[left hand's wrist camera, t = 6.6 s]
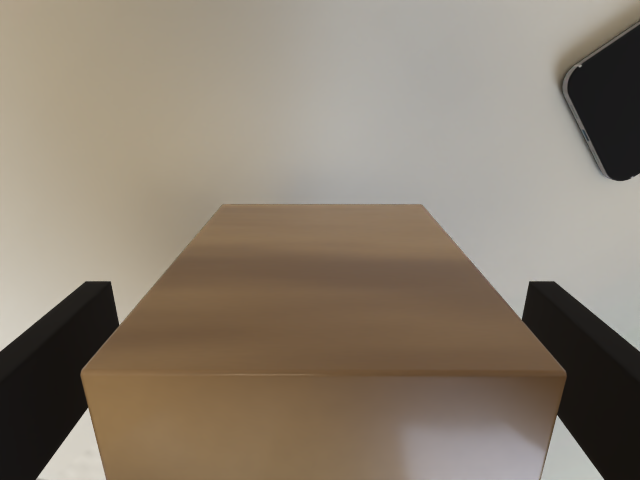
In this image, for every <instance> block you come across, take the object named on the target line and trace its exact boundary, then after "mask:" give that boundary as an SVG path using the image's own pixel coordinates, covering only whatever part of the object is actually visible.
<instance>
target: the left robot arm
mask: <svg viewBox="0 0 640 480" xmlns="http://www.w3.org/2000/svg"><path fill="white" fill-rule="evenodd" d="M522 321H523V322H524V323H525V325H526V326H527V327H528V328H529V329H530V330H531V331H532V333H533V334H534V335H535V336H536V337H537V338H538V340H539V341H540V342H541V343H542V344H543V345H544V347H545V348H546V349H547V350H548V351H549V352H550V353H551V355H552V356H553V357H554V358H555V359H556V360H557V362H558V363H559V364H560V365H561V366H562V367H563V369H564V370H565V371H566V375H567V378H566V381H565V385H564V389H563V393H562V397H561V401H560V405H559V409H558V413H557V415H558V417H559V418H560V419H561V421H562V422H563V423H564V425H565V426H566V428H567V429H568V430H569V432H570V433H571V434H572V436H573V437H574V439H575V440H576V441H577V443H578V444H579V445H580V447H581V448H582V450H583V451H584V452H585V454H586V455H587V456H588V458H589V459H590V461H591V462H592V463H593V465H594V466H595V467H596V469H597V470H598V472H599V473H600V474H601V476H602V477H603V478H604V480H640V352H639V351H638V350H637V349H636V348H635V347H633V346H632V345H631V344H630V343H628V342H627V341H626V340H625V339H624V338H622V337H621V336H620V335H619V334H618V333H616V332H615V331H614V330H613V329H611V328H610V327H609V326H608V325H607V324H605V323H604V322H603V321H602V320H601V319H599V318H598V317H597V316H596V315H594V314H593V313H592V312H591V311H590V310H588V309H587V308H586V307H585V306H583V305H582V304H581V303H580V302H579V301H577V300H576V299H575V298H574V297H573V296H571V295H570V294H569V293H568V292H566V291H565V290H564V289H563V288H562V287H560V286H559V285H558V284H557V283H555V282H554V281H529V286H528V291H527V296H526V301H525V306H524V311H523V316H522ZM118 327H119V321H118V316H117V311H116V306H115V301H114V296H113V291H112V286H111V281H86V282H85V283H83V284H82V285H81V286H80V287H78V288H77V289H76V290H75V291H74V292H72V293H71V294H70V295H69V296H67V297H66V298H65V299H64V300H63V301H61V302H60V303H59V304H58V305H57V306H55V307H54V308H53V309H52V310H50V311H49V312H48V313H47V314H46V315H44V316H43V317H42V318H41V319H40V320H38V321H37V322H36V323H35V324H33V325H32V326H31V327H30V328H29V329H27V330H26V331H25V332H24V333H22V334H21V335H20V336H19V337H18V338H16V339H15V340H14V341H13V342H12V343H10V344H9V345H8V346H7V347H5V348H4V349H3V350H2V351H1V352H0V480H36V478H37V477H38V476H39V474H40V473H41V472H42V470H43V469H44V467H45V466H46V465H47V463H48V462H49V461H50V459H51V458H52V456H53V455H54V454H55V452H56V451H57V450H58V448H59V447H60V445H61V444H62V443H63V441H64V440H65V439H66V437H67V436H68V434H69V433H70V432H71V430H72V429H73V428H74V426H75V425H76V423H77V422H78V421H79V419H80V418H81V417H82V415H83V414H84V412H85V411H86V410H87V408H88V404H87V400H86V396H85V392H84V388H83V384H82V380H81V376H80V375H81V370H82V369H83V368H84V367H85V365H86V364H87V363H88V362H89V361H90V359H91V358H92V357H93V356H94V355H95V354H96V352H97V351H98V350H99V349H100V348H101V347H102V345H103V344H104V343H105V342H106V341H107V340H108V338H109V337H110V336H111V335H112V334H113V332H114V331H115V330H116V329H117V328H118Z"/></svg>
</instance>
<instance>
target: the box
mask: <svg viewBox="0 0 640 480" xmlns="http://www.w3.org/2000/svg"><path fill="white" fill-rule="evenodd" d="M80 376H81V380H82V384H83V388H84V392H85V396H86V400H87V404H88V408H89V412H90V416H91V420H92V424H93V428H94V432H95V436H96V440H97V444H98V448H99V452H100V456H101V460H102V464H103V468H104V472H105V476H106V480H540V479H541V475H542V471H543V467H544V463H545V460H546V456H547V452H548V448H549V444H550V440H551V436H552V432H553V428H554V424H555V420H556V417H557V413H558V409H559V405H560V401H561V397H562V393H563V389H564V385H565V381H566V378H567V375H566V371H565V370H564V369H563V367H562V366H561V365H560V364H559V363H558V362H557V360H556V359H555V358H554V357H553V356H552V355H551V353H550V352H549V351H548V350H547V349H546V348H545V347H544V345H543V344H542V343H541V342H540V341H539V340H538V338H537V337H536V336H535V335H534V334H533V333H532V331H531V330H530V329H529V328H528V327H527V326H526V325H525V323H524V322H523V321H522V320H521V319H520V318H519V316H518V315H517V314H516V313H515V312H514V311H513V309H512V308H511V307H510V306H509V305H508V304H507V302H506V301H505V300H504V299H503V298H502V297H501V296H500V294H499V293H498V292H497V291H496V290H495V289H494V287H493V286H492V285H491V284H490V283H489V282H488V280H487V279H486V278H485V277H484V276H483V275H482V274H481V272H480V271H479V270H478V269H477V268H476V267H475V265H474V264H473V263H472V262H471V261H470V260H469V258H468V257H467V256H466V255H465V254H464V253H463V252H462V250H461V249H460V248H459V247H458V246H457V245H456V243H455V242H454V241H453V240H452V239H451V238H450V236H449V235H448V234H447V233H446V232H445V231H444V229H443V228H442V227H441V226H440V225H439V224H438V223H437V221H436V220H435V219H434V218H433V217H432V216H431V214H430V213H429V212H428V211H427V210H426V209H425V207H424V206H423V205H421V204H223V205H222V206H221V207H220V208H219V209H218V210H217V212H216V213H215V214H214V215H213V216H212V217H211V219H210V220H209V221H208V222H207V223H206V224H205V226H204V227H203V228H202V229H201V230H200V232H199V233H198V234H197V235H196V236H195V237H194V239H193V240H192V241H191V242H190V243H189V244H188V246H187V247H186V248H185V249H184V250H183V251H182V253H181V254H180V255H179V256H178V257H177V259H176V260H175V261H174V262H173V263H172V264H171V266H170V267H169V268H168V269H167V270H166V271H165V273H164V274H163V275H162V276H161V277H160V278H159V280H158V281H157V282H156V283H155V284H154V286H153V287H152V288H151V289H150V290H149V291H148V293H147V294H146V295H145V296H144V297H143V298H142V300H141V301H140V302H139V303H138V304H137V305H136V307H135V308H134V309H133V310H132V311H131V313H130V314H129V315H128V316H127V317H126V318H125V320H124V321H123V322H122V323H121V324H120V325H119V327H118V328H117V329H116V330H115V331H114V332H113V334H112V335H111V336H110V337H109V338H108V340H107V341H106V342H105V343H104V344H103V345H102V347H101V348H100V349H99V350H98V351H97V352H96V354H95V355H94V356H93V357H92V358H91V359H90V361H89V362H88V363H87V364H86V365H85V367H84V368H83V369H82V370H81V375H80Z"/></svg>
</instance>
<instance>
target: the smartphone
mask: <svg viewBox="0 0 640 480" xmlns="http://www.w3.org/2000/svg"><path fill="white" fill-rule="evenodd" d="M562 89H563V94H564V97H565V99H566V101H567V103H568V105H569V107H570V109H571V111H572V113H573V115H574V117H575V119H576V121H577V123H578V125H579V127H580V129H581V131H582V133H583V135H584V137H585V140H586V142H587V144H588V146H589V148H590V150H591V152H592V154H593V156H594V158H595V160H596V162H597V164H598V166H599V168H600V170H601V172H602V174H603V175H604V176H606V177H607V178H610V179H613V180H616V181H624V180H628V179H631V178H633V177H634V176H636V175H638V174H639V173H640V21H639V22H638V23H636V24H635V25H633V26H632V27H630V28H629V29H627V30H626V31H625V32H623V33H622V34H620V35H619V36H617V37H616V38H614V39H613V40H611V41H610V42H608V43H607V44H605V45H604V46H602V47H601V48H599V49H598V50H597V51H595V52H594V53H592V54H591V55H589V56H588V57H586V58H585V59H583V60H582V61H580V62H579V63H577V64H576V65H575V66H573V67H572V68H571V69H570V70H569V71H568V73H567V74H566V76H565V78H564V81H563V88H562Z"/></svg>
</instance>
